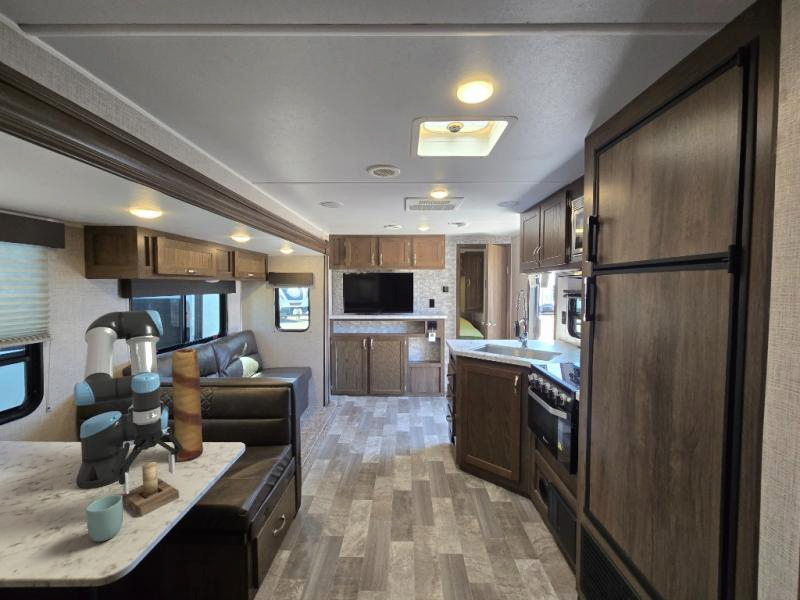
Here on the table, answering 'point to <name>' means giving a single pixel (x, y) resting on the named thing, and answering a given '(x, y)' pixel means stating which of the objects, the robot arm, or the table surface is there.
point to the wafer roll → (187, 403)
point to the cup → (104, 517)
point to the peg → (150, 479)
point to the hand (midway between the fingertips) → (150, 481)
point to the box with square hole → (150, 498)
